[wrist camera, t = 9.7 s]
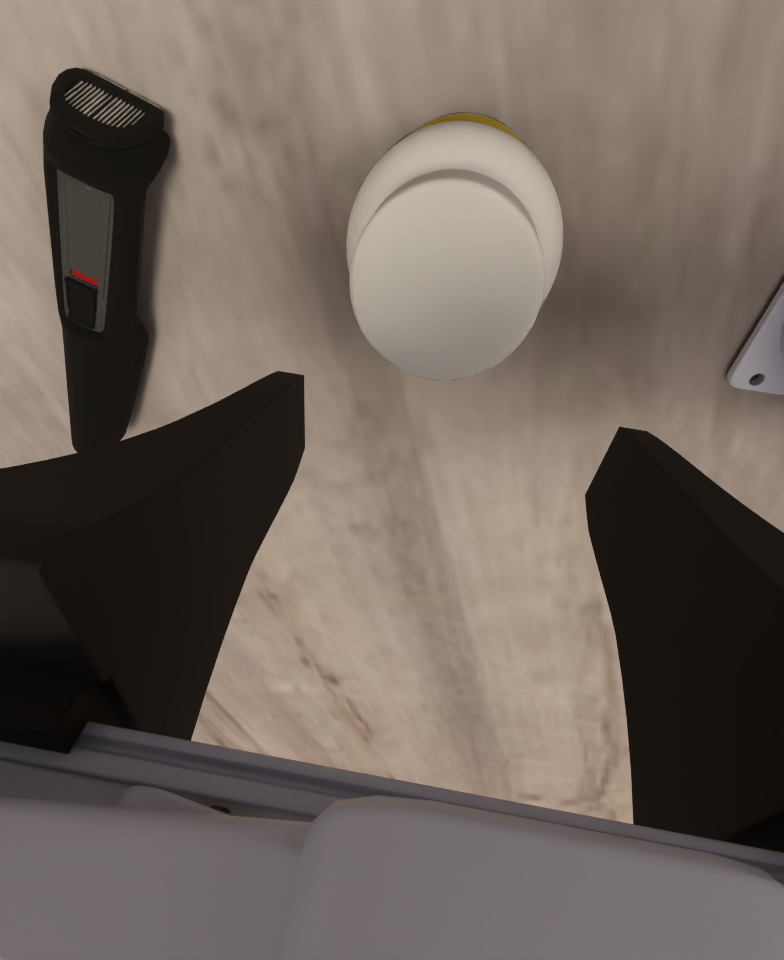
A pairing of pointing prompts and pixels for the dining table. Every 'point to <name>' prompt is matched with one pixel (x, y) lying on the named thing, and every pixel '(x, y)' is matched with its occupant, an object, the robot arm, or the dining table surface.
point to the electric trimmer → (99, 242)
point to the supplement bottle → (453, 247)
